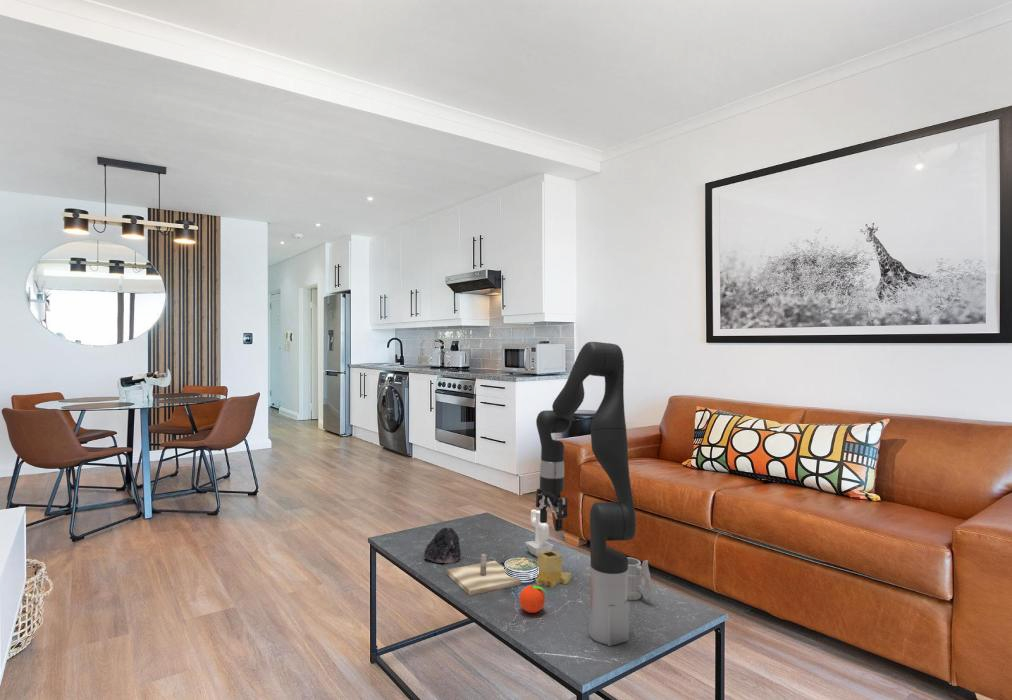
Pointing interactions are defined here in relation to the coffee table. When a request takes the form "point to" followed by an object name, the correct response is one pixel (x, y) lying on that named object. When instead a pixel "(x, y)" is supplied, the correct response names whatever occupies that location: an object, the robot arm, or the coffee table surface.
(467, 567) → the carrier plate
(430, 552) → the black rock
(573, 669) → the coffee table surface
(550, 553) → the gear
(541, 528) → the figurine
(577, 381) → the robot arm
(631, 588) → the mug
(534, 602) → the clementine
